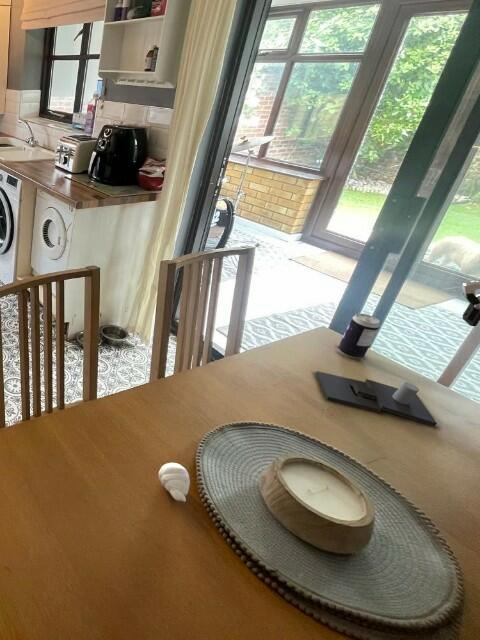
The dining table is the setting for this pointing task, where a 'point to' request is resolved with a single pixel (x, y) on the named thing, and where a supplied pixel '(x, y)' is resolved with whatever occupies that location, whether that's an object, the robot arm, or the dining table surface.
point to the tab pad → (392, 404)
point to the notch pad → (344, 391)
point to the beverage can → (359, 335)
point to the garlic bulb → (175, 480)
